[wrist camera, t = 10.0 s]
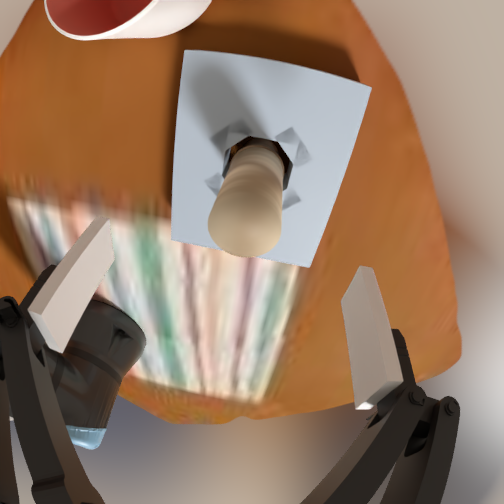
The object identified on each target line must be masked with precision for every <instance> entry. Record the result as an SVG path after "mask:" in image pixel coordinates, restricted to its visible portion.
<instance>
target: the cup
mask: <svg viewBox="0 0 504 504" xmlns="http://www.w3.org/2000/svg"><path fill="white" fill-rule="evenodd" d="M211 1H212V0H44V4H45V10H46V14H47V16H48V19H49V21H50V22H51V24H52V25H53V26H54V28H55V29H56V30H57V31H59V32H60V33H61V34H63V35H65V36H67V37H70V38H72V39H77V40H97V39H114V38H156V37H162V36H166V35H169V34H172V33H175V32H177V31H179V30H181V29H183V28H185V27H187V26H188V25H190V24H191V23H192V22H194V21H195V20H196V19H197V18H198V17H200V16H201V15H202V13H203V12H204V11H205V10H206V9H207V7H208V6H209V5H210V3H211Z"/></svg>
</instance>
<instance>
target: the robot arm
mask: <svg viewBox="0 0 504 504" xmlns="http://www.w3.org/2000/svg"><path fill="white" fill-rule="evenodd" d="M114 259H115V256H114V250H113V243H112V236H111V229H110V221H109V218H104V217H98V216H97V217H96V218H95V219H94V221H93V222H92V223H91V224H90V225H89V227H88V228H87V229H86V230H85V231H84V233H83V234H82V235H81V236H80V237H79V239H78V240H77V241H76V242H75V244H74V245H73V246H72V248H71V249H70V250H69V251H68V253H67V254H66V255H65V257H64V258H63V259H62V261H61V262H60V263H59V265H58V266H55V265H51V266H49V267H48V268H47V269H45V270H44V271H43V272H42V274H41V275H40V276H39V278H38V280H36V282H35V283H34V285H33V286H32V287H31V289H30V290H29V292H28V293H27V295H26V296H25V298H24V299H23V301H22V302H21V304H20V305H19V306H18V304H17V302H16V300H15V299H14V298H13V297H11V296H5V297H2V298H0V504H19V495H18V489H17V483H16V477H15V471H14V465H13V456H12V446H11V435H10V420H14V423H15V427H16V430H17V434H18V438H19V441H20V445H21V448H22V451H23V454H24V457H25V460H26V463H27V465H28V468H29V471H30V474H31V477H32V480H33V485H32V488H31V491H32V496H33V498H34V501H35V503H36V504H105V503H104V501H103V499H102V497H101V496H100V494H99V493H98V491H97V490H96V489H95V488H94V487H93V486H92V484H91V483H90V481H89V479H88V477H87V475H86V473H85V471H84V469H83V466H82V464H81V462H80V460H79V458H78V455H77V453H76V451H75V448H74V446H73V444H76V445H78V446H81V447H84V448H87V449H95V448H97V447H98V446H99V445H100V443H101V440H102V438H103V436H104V433H105V431H106V430H107V428H106V427H107V424H108V421H109V417H110V414H111V411H112V408H113V405H114V402H115V399H116V396H117V393H118V390H119V387H120V384H121V382H122V379H123V377H124V376H125V375H126V373H127V372H128V371H129V370H130V369H131V367H132V366H133V365H134V364H135V363H136V362H137V360H138V359H139V358H140V357H141V355H142V354H143V351H144V348H145V346H146V338H145V335H144V333H143V332H142V330H141V329H140V328H139V327H138V325H137V324H136V323H135V322H134V321H132V320H131V319H130V318H129V317H128V316H126V315H125V314H123V313H122V312H120V311H119V310H117V309H115V308H113V307H111V306H109V305H107V304H104V303H102V302H98V301H94V300H91V298H92V296H93V294H94V293H95V291H96V289H97V288H98V286H99V284H100V282H101V281H102V279H103V277H104V276H105V274H106V272H107V271H108V269H109V267H110V266H111V264H112V263H113V261H114ZM341 305H342V311H343V317H344V323H345V330H346V336H347V343H348V350H349V357H350V365H351V373H352V381H353V390H354V399H355V409H371V408H372V407H373V406H374V405H376V404H377V409H378V410H377V411H376V412H375V413H374V414H372V415H371V416H370V417H368V418H367V419H366V420H370V421H369V422H368V423H367V425H366V426H365V428H364V429H363V430H362V432H361V433H360V435H359V436H358V437H357V439H356V440H355V441H354V443H353V444H352V445H351V446H350V448H349V449H348V450H347V452H346V453H345V454H344V456H343V457H342V458H341V459H340V460H339V462H338V463H337V464H336V465H335V466H334V467H333V469H332V470H331V471H330V472H329V473H328V475H327V476H326V477H325V478H324V479H323V480H322V481H321V482H320V483H319V485H318V486H317V487H316V488H315V489H314V490H313V491H312V492H311V493H310V494H309V495H308V496H307V497H306V499H304V500H303V501H302V502H301V503H300V504H367V503H368V502H369V501H370V499H371V498H372V497H373V495H374V494H375V492H376V491H377V490H378V488H379V487H380V485H381V484H382V482H383V481H384V479H385V478H386V476H387V475H388V473H389V472H390V470H391V469H392V467H393V466H394V464H395V462H396V464H395V467H394V470H393V473H392V475H391V478H390V481H389V483H388V486H387V488H386V491H385V493H384V496H383V498H382V500H381V503H380V504H440V503H441V500H442V496H443V493H444V490H445V486H446V482H447V479H448V475H449V471H450V467H451V462H452V458H453V453H454V448H455V443H456V437H457V431H458V424H459V417H460V407H459V404H458V402H457V401H456V399H454V398H453V397H450V396H447V397H444V398H443V399H441V400H440V401H439V400H436V399H433V398H430V397H427V396H426V394H425V392H424V391H423V389H422V388H421V387H419V386H417V385H416V382H415V378H414V374H413V370H412V366H411V362H410V358H409V357H408V356H409V354H408V350H407V346H406V343H405V339H404V337H403V336H402V334H401V333H400V331H399V329H391V327H390V324H389V320H388V317H387V313H386V310H385V306H384V303H383V299H382V296H381V293H380V290H379V286H378V283H377V280H376V277H375V274H374V271H373V268H370V267H365V266H359V268H358V270H357V272H356V274H355V276H354V278H353V280H352V282H351V283H350V285H349V287H348V289H347V291H346V293H345V295H344V296H343V298H342V300H341ZM45 341H46V342H45ZM57 351H58V352H57ZM59 352H60V353H59Z"/></svg>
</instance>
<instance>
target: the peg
mask: <svg viewBox="0 0 504 504" xmlns="http://www.w3.org/2000/svg"><path fill="white" fill-rule="evenodd" d="M283 177H284V165H283V161H282V159H281V158H280V156H279V152H278V149H277V147H276V146H275V145H274V144H273V143H272V142H271V141H269V140H267V139H263V138H255V139H252V140H250V141H249V142H247V143H246V144H245V146H244V147H243V148H242V149H240V150H239V151H238V152H236V154H235V155H234V156H233V158H232V160H231V163H230V168H229V170H228V172H227V175H226V177H225V179H224V181H223V184H222V186H221V188H220V191H219V193H218V195H217V198H216V200H215V203H214V205H213V207H212V210H211V212H210V215H209V217H208V231H209V234H210V236H211V238H212V240H213V241H214V242H215V244H216V245H217V246H218V247H220V248H221V249H222V250H224V251H225V252H227V253H229V254H232V255H235V256H239V257H256V256H260V255H263V254H265V253H267V252H269V251H270V250H271V249H272V248H273V247H275V245H276V244H277V243H278V241H279V239H280V236H281V227H282V192H283Z"/></svg>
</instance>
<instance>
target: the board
mask: <svg viewBox="0 0 504 504" xmlns="http://www.w3.org/2000/svg"><path fill="white" fill-rule="evenodd" d="M371 89H372V87H369V86H367V85H365V84H362V83H360V82H357V81H354V80H351V79H348V78H345V77H341V76H338V75H335V74H331V73H328V72H324V71H320V70H317V69H313V68H309V67H305V66H300V65H296V64H292V63H287V62H282V61H277V60H272V59H267V58H261V57H255V56H249V55H242V54H234V53H226V52H217V51H206V50H185V51H184V58H183V66H182V74H181V82H180V91H179V100H178V110H177V121H176V134H175V147H174V164H173V185H172V223H171V240H173V241H178V242H183V243H188V244H193V245H198V246H203V247H208V248H213V249H218V250H222V249H221V248H220V247H218V246H217V245H216V244H215V242H214V241H213V240H212V238H211V236H210V234H209V231H208V217H209V215H210V212H211V210H212V207H213V205H214V203H215V200H216V198H217V195H218V193H219V191H220V188H221V186H222V184H223V181H224V179H225V177H226V175H227V172H228V170H229V168H230V162H229V157H230V150H231V147H232V146H233V145H235V144H236V143H238V142H240V141H241V140H243V139H244V138H246V137H247V136H253V137H258V138H263V139H268V140H273V141H278V143H279V144H280V145H281V147H282V148H283V150H284V151H285V153H286V154H287V156H288V157H289V159H290V162H289V166H288V170H287V173H285V174H284V177H283V192H282V227H281V236H280V239H279V241H278V243H277V244H276V245H275V247H273V248H272V249H271V250H270V251H269V252H267V253H265V254H263V255H260V256H256V257H258V258H263V259H268V260H273V261H278V262H283V263H288V264H293V265H298V266H303V267H308V268H309V267H310V265H311V263H312V260H313V257H314V255H315V252H316V250H317V247H318V245H319V242H320V240H321V237H322V234H323V232H324V229H325V226H326V224H327V221H328V218H329V216H330V213H331V210H332V208H333V205H334V202H335V199H336V197H337V194H338V191H339V188H340V185H341V183H342V180H343V177H344V174H345V171H346V168H347V165H348V162H349V159H350V156H351V153H352V150H353V147H354V144H355V141H356V138H357V135H358V132H359V128H360V125H361V122H362V119H363V116H364V112H365V109H366V106H367V102H368V99H369V95H370V92H371ZM223 251H224V250H223Z"/></svg>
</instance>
